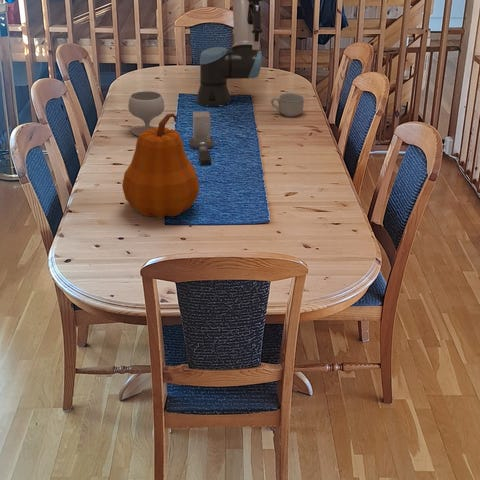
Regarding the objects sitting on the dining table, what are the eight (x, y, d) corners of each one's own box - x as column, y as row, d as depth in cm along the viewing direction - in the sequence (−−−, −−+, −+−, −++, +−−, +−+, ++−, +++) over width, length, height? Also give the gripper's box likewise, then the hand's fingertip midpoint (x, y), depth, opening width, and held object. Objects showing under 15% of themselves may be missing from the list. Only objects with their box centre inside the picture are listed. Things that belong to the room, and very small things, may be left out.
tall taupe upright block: (193, 137, 287) (192, 111, 282) (209, 136, 288) (208, 111, 283) (194, 142, 282) (194, 116, 277) (210, 142, 282) (210, 116, 278)
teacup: (303, 111, 325) (304, 93, 321) (303, 119, 316) (304, 100, 312) (271, 109, 326) (272, 91, 323) (269, 117, 317) (270, 99, 313)
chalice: (122, 134, 295) (120, 97, 288) (142, 124, 306) (141, 88, 299) (152, 141, 290) (151, 103, 283) (172, 130, 301) (171, 93, 294)
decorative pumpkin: (161, 187, 251) (158, 99, 237) (215, 207, 238) (215, 115, 224) (107, 210, 235) (101, 117, 221) (162, 233, 221) (158, 136, 207)
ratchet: (189, 142, 289) (189, 127, 287) (212, 141, 290) (212, 126, 288) (193, 165, 268) (193, 149, 265) (218, 164, 269) (218, 149, 266)
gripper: (240, -17, 298) (239, 37, 308) (249, -5, 276) (248, 53, 286) (259, -17, 299) (258, 37, 309) (270, -5, 277) (267, 53, 287)
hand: (253, 45), depth 297 cm, fingers open, 13 cm apart
